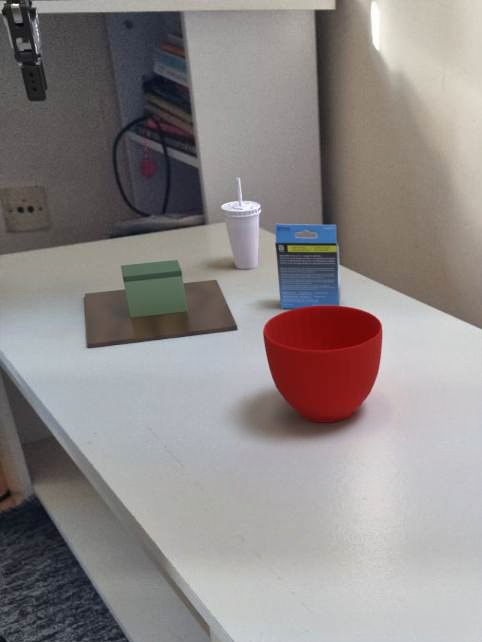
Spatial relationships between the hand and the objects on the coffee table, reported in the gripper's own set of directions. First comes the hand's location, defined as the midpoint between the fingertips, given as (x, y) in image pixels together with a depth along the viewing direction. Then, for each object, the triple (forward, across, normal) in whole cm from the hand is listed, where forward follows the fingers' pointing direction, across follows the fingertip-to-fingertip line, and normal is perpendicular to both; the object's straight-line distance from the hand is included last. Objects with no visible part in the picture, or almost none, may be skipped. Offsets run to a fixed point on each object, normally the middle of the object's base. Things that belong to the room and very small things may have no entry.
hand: (38, 95), depth 103 cm
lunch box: (+28, +6, +10) cm, 30 cm away
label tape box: (+28, +10, +32) cm, 44 cm away
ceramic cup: (+28, +41, +27) cm, 57 cm away
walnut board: (+28, +6, +10) cm, 30 cm away
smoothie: (+28, -11, +26) cm, 40 cm away
